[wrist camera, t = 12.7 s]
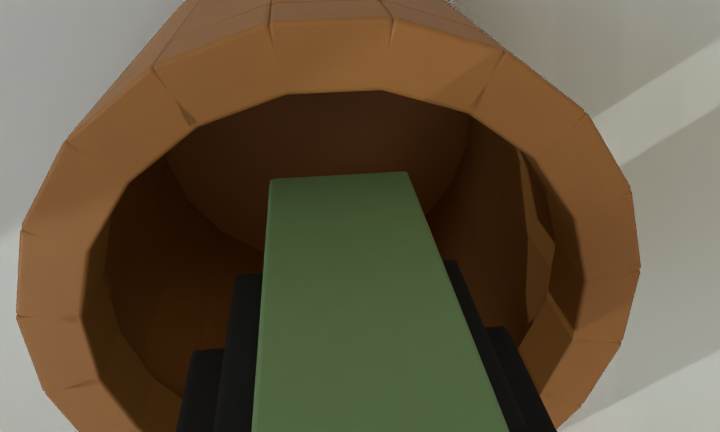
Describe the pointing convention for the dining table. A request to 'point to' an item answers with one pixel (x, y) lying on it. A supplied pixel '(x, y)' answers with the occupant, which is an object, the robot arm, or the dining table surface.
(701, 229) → the dining table surface
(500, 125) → the jar
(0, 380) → the dining table surface
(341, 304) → the block
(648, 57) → the dining table surface
